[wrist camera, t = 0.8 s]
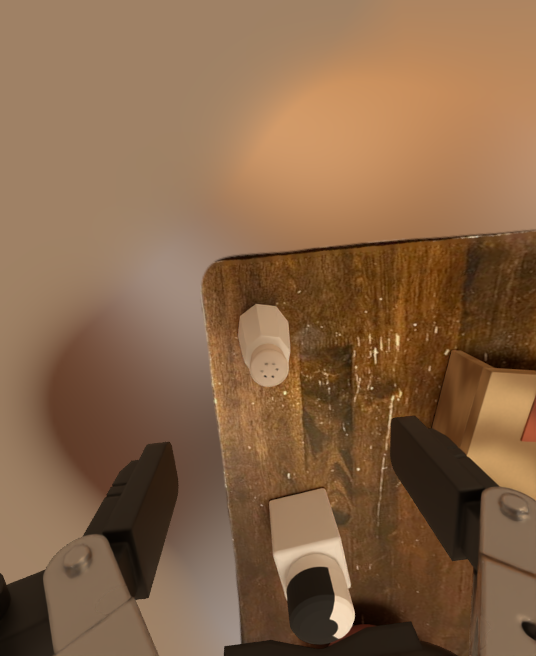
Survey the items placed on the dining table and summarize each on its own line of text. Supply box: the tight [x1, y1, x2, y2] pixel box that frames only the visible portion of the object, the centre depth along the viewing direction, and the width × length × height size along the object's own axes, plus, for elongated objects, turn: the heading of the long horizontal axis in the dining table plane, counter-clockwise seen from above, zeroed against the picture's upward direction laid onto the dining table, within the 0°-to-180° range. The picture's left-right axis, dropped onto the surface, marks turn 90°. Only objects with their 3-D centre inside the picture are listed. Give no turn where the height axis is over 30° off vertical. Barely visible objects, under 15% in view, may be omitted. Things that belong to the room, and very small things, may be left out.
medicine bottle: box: [269, 488, 355, 644], centre depth 34 cm, size 7×7×12 cm
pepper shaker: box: [238, 304, 290, 387], centre depth 27 cm, size 5×5×11 cm
